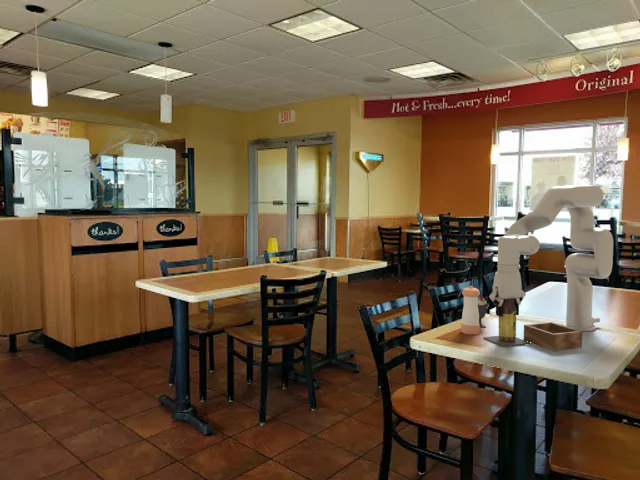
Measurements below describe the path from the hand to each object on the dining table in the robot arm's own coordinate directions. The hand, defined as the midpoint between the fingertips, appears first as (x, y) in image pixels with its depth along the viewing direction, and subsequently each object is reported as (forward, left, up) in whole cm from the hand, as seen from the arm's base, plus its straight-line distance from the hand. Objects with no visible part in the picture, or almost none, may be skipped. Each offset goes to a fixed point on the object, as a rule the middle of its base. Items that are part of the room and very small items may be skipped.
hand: (507, 314), depth 183 cm
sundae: (-4, -22, -11) cm, 25 cm away
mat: (0, 0, -10) cm, 10 cm away
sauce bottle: (0, 0, -10) cm, 10 cm away
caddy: (-14, +8, -10) cm, 19 cm away
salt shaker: (+5, -16, -11) cm, 20 cm away
